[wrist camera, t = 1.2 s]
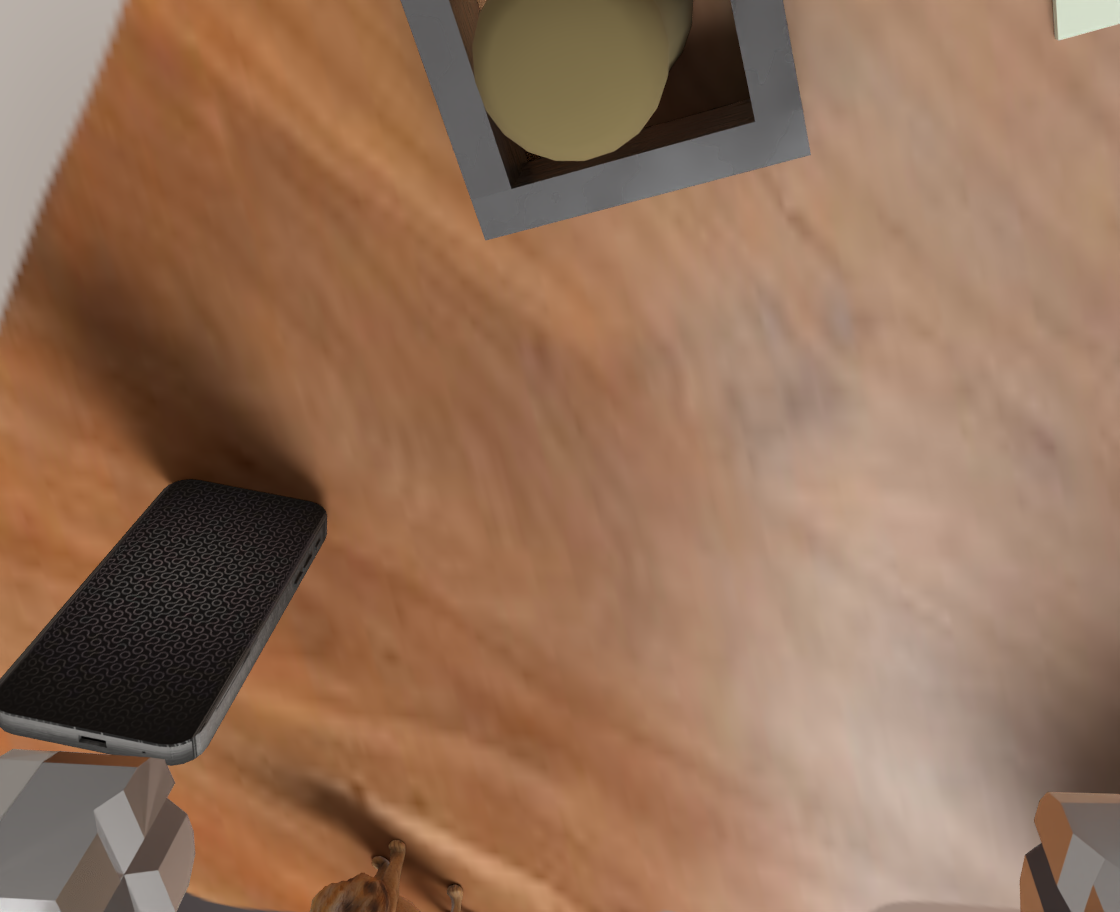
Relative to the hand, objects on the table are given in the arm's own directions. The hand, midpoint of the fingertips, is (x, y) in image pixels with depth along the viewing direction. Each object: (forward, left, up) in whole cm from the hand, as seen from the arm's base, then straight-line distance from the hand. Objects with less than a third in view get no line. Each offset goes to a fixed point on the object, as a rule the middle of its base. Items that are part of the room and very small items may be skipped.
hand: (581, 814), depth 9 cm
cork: (+2, -4, -31) cm, 31 cm away
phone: (+24, +12, -31) cm, 41 cm away
